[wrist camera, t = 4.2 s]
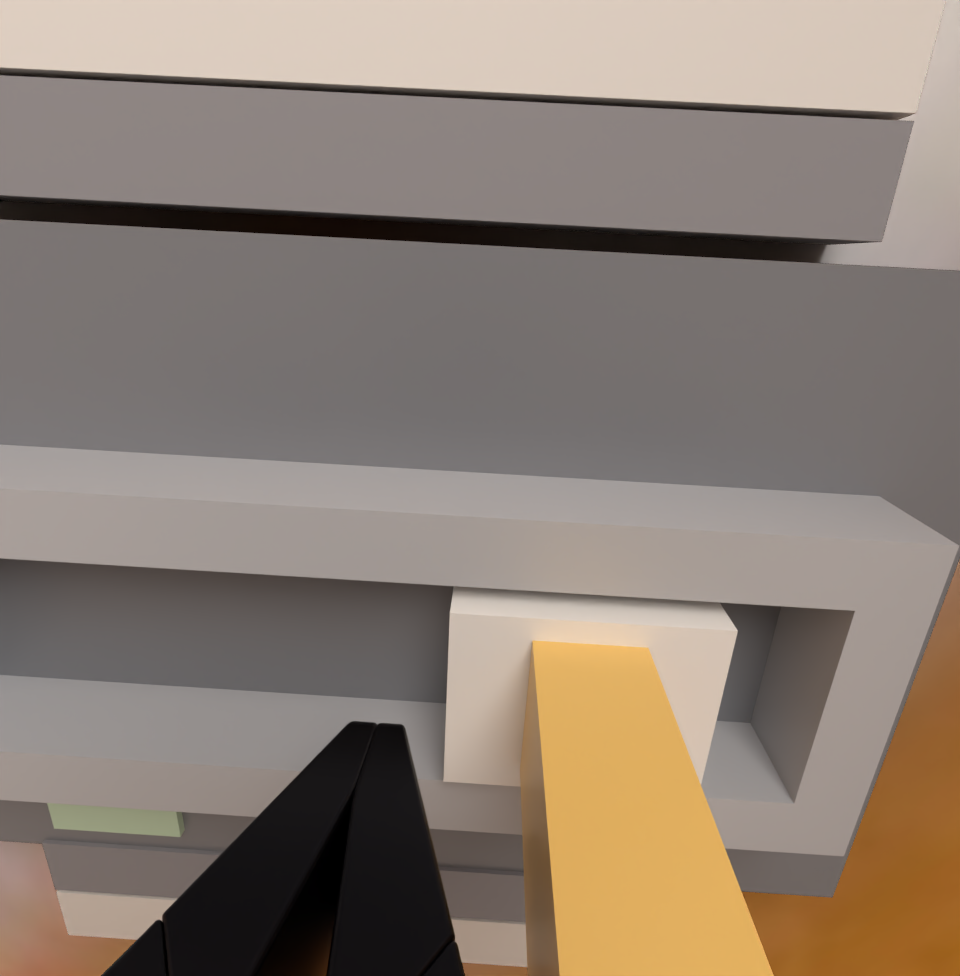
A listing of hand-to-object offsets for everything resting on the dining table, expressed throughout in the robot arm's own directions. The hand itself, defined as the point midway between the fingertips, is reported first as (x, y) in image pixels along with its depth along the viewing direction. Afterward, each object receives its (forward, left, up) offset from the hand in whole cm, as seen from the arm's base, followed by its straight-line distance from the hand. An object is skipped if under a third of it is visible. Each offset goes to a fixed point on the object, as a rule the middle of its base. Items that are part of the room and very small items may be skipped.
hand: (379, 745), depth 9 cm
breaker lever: (-3, 0, -3) cm, 4 cm away
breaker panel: (+1, 0, -5) cm, 5 cm away
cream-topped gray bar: (+1, -9, -5) cm, 10 cm away
